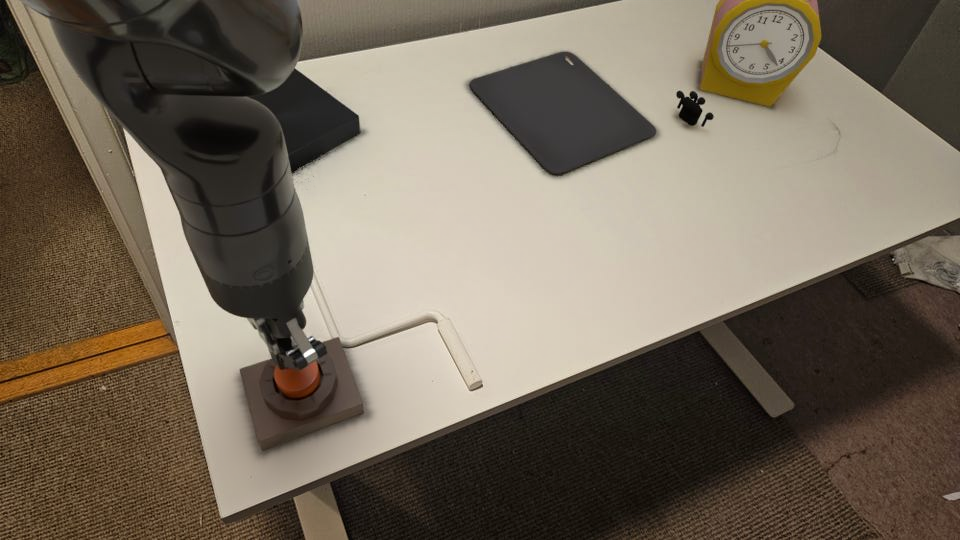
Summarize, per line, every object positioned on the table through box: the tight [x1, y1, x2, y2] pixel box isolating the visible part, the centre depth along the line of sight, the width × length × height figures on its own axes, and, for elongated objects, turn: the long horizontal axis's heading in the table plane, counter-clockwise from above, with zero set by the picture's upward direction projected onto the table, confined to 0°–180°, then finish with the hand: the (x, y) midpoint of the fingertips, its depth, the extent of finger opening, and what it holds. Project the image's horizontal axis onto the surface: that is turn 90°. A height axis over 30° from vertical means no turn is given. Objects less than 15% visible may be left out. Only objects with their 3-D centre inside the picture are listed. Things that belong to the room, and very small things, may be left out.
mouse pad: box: [469, 51, 657, 176], centre depth 92 cm, size 23×20×1 cm
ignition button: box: [274, 361, 320, 399], centre depth 58 cm, size 4×4×2 cm
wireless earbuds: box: [675, 90, 715, 128], centre depth 91 cm, size 7×2×5 cm, turn 38°
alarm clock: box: [699, 0, 822, 108], centre depth 93 cm, size 15×8×18 cm, turn 74°
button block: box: [239, 336, 365, 451], centre depth 60 cm, size 10×8×4 cm
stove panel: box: [249, 67, 361, 173], centre depth 81 cm, size 20×16×3 cm
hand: (287, 359), depth 56 cm, fingers closed
